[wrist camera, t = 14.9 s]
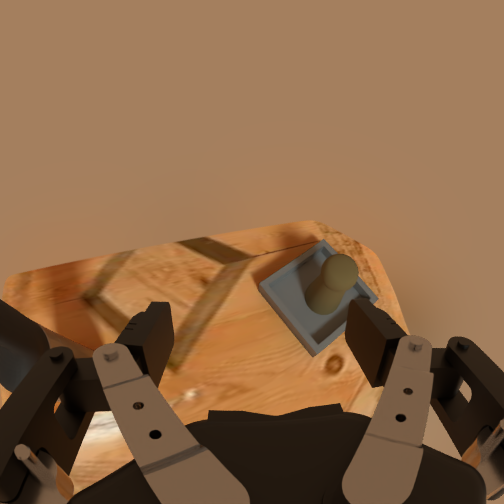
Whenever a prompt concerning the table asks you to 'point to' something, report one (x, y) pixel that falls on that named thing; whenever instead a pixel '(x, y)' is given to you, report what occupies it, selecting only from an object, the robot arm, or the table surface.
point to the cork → (331, 284)
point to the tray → (294, 305)
